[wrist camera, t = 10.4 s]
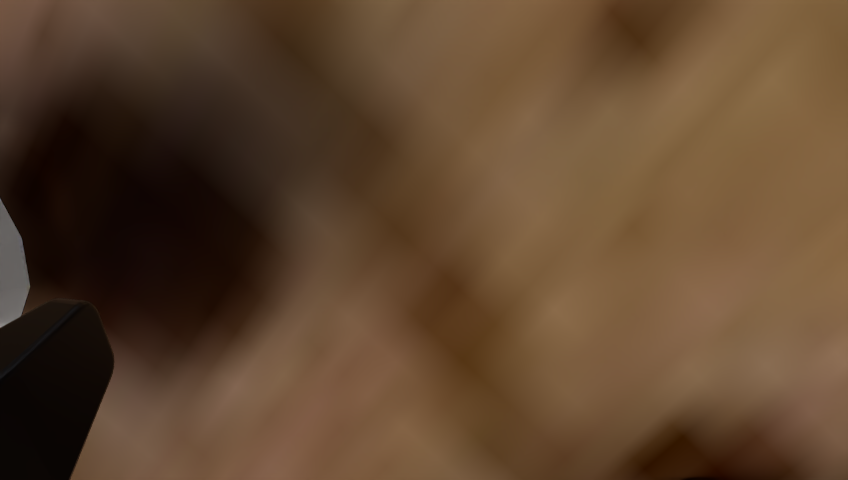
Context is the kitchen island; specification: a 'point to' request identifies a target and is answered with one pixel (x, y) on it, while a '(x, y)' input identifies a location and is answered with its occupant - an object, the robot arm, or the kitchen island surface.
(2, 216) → the french press
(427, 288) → the kitchen island surface
